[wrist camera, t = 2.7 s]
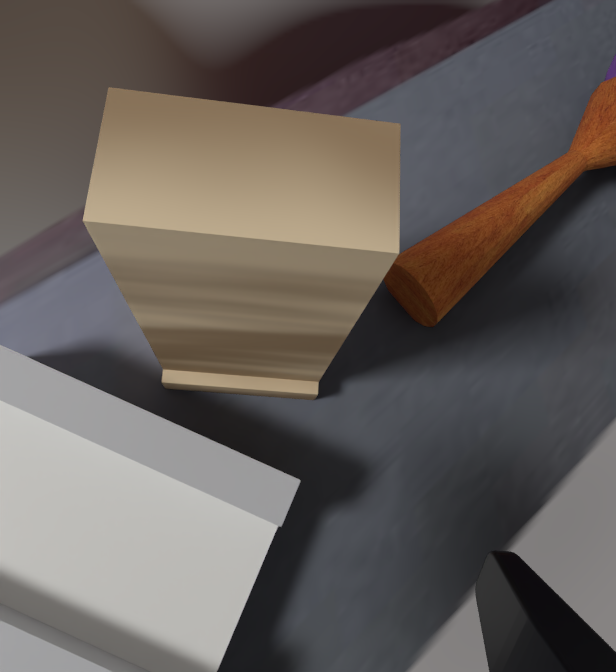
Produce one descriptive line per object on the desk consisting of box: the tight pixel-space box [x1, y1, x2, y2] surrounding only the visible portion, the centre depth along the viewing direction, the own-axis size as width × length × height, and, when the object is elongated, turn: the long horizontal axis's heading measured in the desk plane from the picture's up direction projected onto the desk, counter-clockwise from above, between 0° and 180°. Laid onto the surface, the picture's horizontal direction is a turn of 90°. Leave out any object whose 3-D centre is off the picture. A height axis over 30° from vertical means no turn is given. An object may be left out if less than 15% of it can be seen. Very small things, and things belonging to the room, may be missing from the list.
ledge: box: [0, 345, 301, 672], centre depth 19 cm, size 9×12×4 cm
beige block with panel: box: [83, 88, 400, 400], centre depth 17 cm, size 4×6×13 cm, turn 87°
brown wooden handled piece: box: [383, 55, 616, 327], centre depth 26 cm, size 6×6×20 cm
